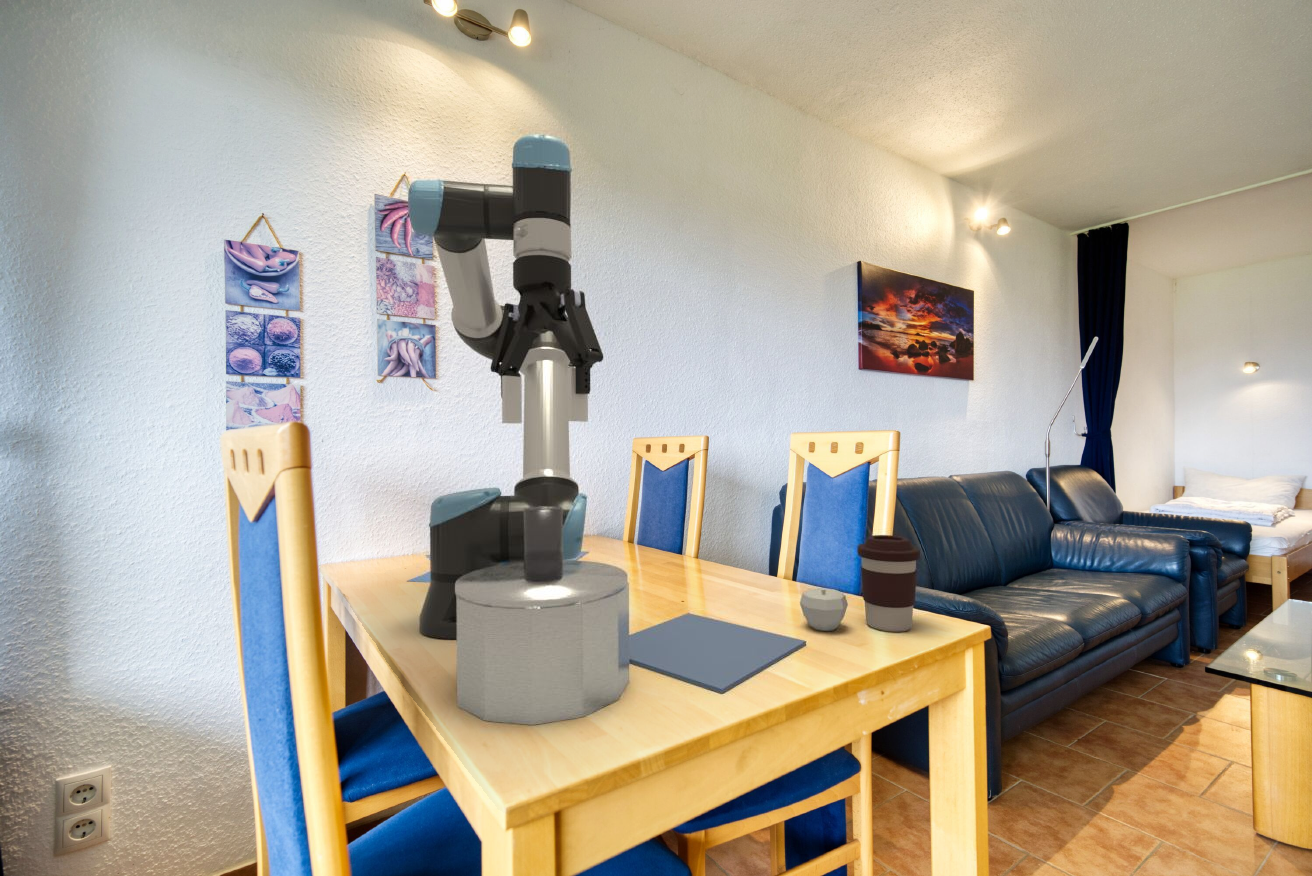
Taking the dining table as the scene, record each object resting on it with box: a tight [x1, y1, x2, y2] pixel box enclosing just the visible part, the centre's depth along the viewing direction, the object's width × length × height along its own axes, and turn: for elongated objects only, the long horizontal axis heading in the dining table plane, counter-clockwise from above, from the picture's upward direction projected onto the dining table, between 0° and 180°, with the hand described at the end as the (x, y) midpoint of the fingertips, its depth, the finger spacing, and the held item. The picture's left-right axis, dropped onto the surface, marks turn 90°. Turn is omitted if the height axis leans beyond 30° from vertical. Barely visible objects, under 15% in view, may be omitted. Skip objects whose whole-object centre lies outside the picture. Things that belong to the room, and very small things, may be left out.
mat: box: [629, 612, 807, 694], centre depth 91 cm, size 23×23×1 cm
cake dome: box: [455, 506, 630, 726], centre depth 78 cm, size 22×22×23 cm
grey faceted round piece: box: [799, 587, 849, 632], centre depth 100 cm, size 8×8×7 cm
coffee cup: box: [857, 534, 921, 633], centre depth 101 cm, size 10×10×15 cm
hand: (543, 422), depth 78 cm, fingers open, 13 cm apart
